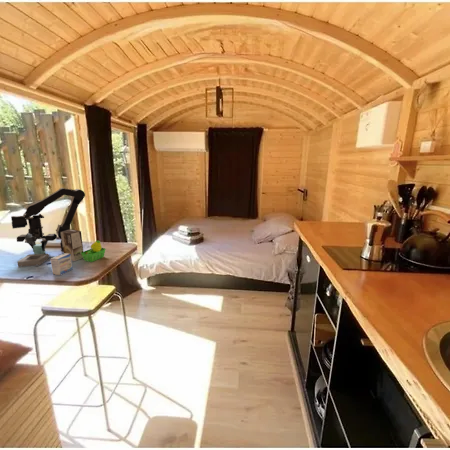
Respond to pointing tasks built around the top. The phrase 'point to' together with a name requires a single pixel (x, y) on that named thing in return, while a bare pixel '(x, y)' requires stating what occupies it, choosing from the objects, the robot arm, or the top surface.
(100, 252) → the fruit basket
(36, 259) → the pocket plate
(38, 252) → the block
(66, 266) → the medicine box
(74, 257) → the coffee box
